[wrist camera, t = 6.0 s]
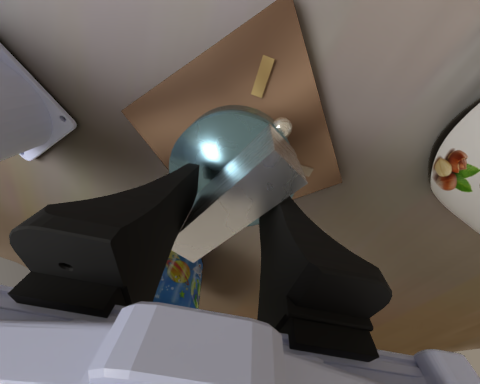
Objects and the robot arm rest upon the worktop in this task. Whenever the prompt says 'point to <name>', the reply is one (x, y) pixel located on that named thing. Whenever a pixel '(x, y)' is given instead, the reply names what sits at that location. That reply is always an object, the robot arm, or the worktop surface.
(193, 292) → the snack cup
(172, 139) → the base plate
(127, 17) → the worktop surface
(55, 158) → the worktop surface
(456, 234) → the worktop surface
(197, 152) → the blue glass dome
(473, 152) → the spread jar
